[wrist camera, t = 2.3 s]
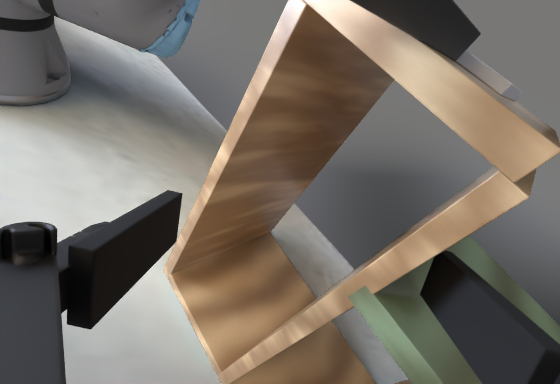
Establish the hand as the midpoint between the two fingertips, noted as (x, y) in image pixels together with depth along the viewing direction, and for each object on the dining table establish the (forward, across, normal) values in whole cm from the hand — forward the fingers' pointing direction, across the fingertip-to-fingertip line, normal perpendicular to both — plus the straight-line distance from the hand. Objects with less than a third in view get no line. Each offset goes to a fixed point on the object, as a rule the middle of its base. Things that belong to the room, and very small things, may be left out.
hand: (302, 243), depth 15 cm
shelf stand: (+13, +1, -18) cm, 22 cm away
